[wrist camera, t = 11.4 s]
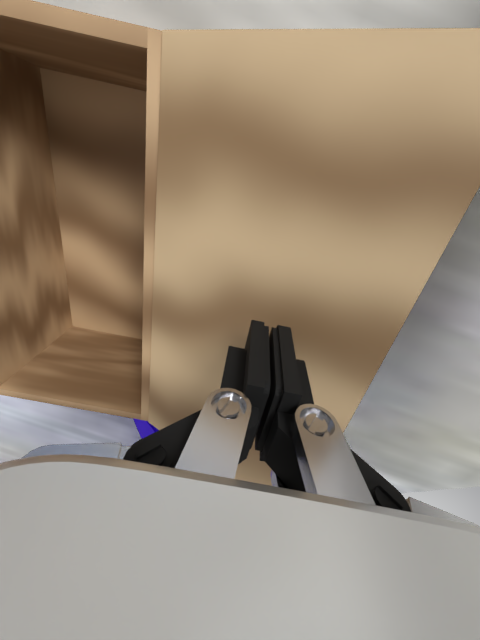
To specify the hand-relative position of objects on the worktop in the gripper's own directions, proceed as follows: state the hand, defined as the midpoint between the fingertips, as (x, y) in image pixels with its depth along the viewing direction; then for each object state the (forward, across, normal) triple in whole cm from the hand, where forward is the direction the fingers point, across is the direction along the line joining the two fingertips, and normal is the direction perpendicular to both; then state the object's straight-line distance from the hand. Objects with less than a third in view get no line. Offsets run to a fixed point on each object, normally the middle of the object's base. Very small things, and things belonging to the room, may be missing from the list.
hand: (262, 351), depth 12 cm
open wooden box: (+14, +12, +1) cm, 19 cm away
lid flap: (+2, +1, 0) cm, 2 cm away
